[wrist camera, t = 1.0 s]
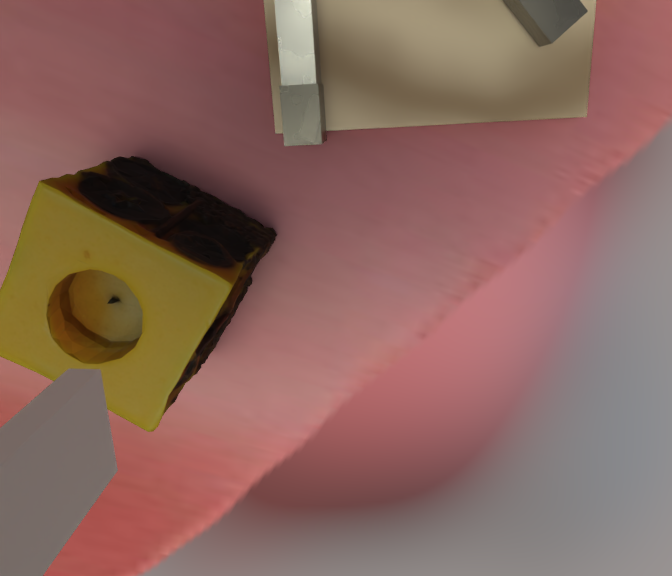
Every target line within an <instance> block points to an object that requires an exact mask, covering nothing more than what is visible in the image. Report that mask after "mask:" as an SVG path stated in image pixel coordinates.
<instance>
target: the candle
mask: <svg viewBox="0 0 672 576" xmlns="http://www.w3.org/2000/svg"><path fill="white" fill-rule="evenodd" d="M276 236H277V234H276V232H275V231H274V229H273V228H264V226H263V225H262V224H260V223H259V222H258V221H257V220H255V219H252V218H249V217H247V216H246V215H245V214H244V213H243V212H242V211H240V210H239V209H236V208H233V207H231V206H229V205H227V204H226V203H224V202H222V201H221V200H219V199H218V198H216V197H214V196H212V195H210V194H207V193H205V192H201V191H200V190H199V188H197V187H196V186H191V185H190V184H188V183H187V182H185V181H184V180H183V181H181V180H179V179H177V178H175V177H173V176H171V175H169V174H167V173H164V172H162V171H160V170H158V169H156V168H155V167H154V166H153V165H152V164H151V163H149V162H148V161H147V160H146V159H140V158H137V157H133V156H131V157H130V158H124V157H117V158H114V159H113V160H111V161H105V162H103V163H101V164H100V165H98V166H95V167H92V168H89V169H85V170H80V171H78V172H77V173H76V174H75V175H71V174H66V175H64V176H61V177H59V178H49V179H45V180H42V181H39V183H38V186H37V188H36V191H35V193H34V195H33V198H32V201H31V203H30V206H29V209H28V212H27V215H26V218H25V221H24V223H23V226H22V230H21V233H20V237H19V240H18V243H17V247H16V249H15V252H14V255H13V258H12V261H11V264H10V267H9V270H8V272H7V275H6V277H5V280H4V282H3V285H2V287H1V289H0V356H1V357H3V358H5V359H7V360H10V361H12V362H14V363H16V364H19V365H21V366H23V367H26V368H28V369H30V370H33V371H35V372H37V373H39V374H41V375H43V376H45V377H47V378H49V379H51V380H53V381H55V380H56V379H57V378H58V377H60V376H61V375H62V374H63V373H64V372H65V371H66V370H68V369H100V370H101V375H102V381H103V387H104V393H105V399H106V405H107V409H108V410H110V411H112V412H114V413H115V414H117V415H119V416H121V417H122V418H124V419H126V420H128V421H130V422H131V423H133V424H135V425H137V426H139V427H141V428H142V429H144V430H146V431H148V432H151V431H154V430H155V429H156V428H157V427H158V425H159V423H160V420H161V418H162V416H163V415H164V413H165V412H166V410H167V409H168V408H169V407H170V406H171V405H172V404H173V403H174V402H175V400H176V399H177V396H178V394H179V393H180V391H181V390H182V388H183V387H184V385H185V383H186V382H188V381H189V380H190V379H191V378H192V376H193V375H195V374H197V372H198V371H199V370H200V368H201V365H202V364H203V363H205V360H206V359H207V358H208V356H209V355H210V353H211V352H212V351H213V349H214V348H215V346H216V344H217V342H218V341H219V338H220V336H221V335H222V333H223V332H224V330H225V328H226V326H227V325H228V324H229V323H230V320H231V318H232V317H233V316H234V314H235V312H236V310H237V308H238V305H239V303H240V302H241V301H242V300H243V298H244V296H245V294H246V292H247V291H248V290H247V286H250V285H251V284H252V280H251V274H252V272H253V270H254V268H255V266H256V265H257V263H258V262H259V261H260V259H261V258H262V257H264V256H265V254H266V253H267V252H268V251H269V248H270V247H271V245H272V244H273V243H274V240H275V237H276Z"/></svg>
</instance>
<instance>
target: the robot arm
mask: <svg viewBox="0 0 672 576" xmlns="http://www.w3.org/2000/svg"><path fill="white" fill-rule="evenodd" d="M117 471H118V469H117V464H116V458H115V452H114V446H113V440H112V434H111V428H110V422H109V417H108V411H107V405H106V399H105V393H104V387H103V381H102V375H101V370H100V369H68V370H66V371H65V372H64V373H63V374H62V375H61V376H60V377H58V378H57V379H56V380H55V381H54V382H53V383H51V384H50V385H49V386H48V387H47V388H46V389H45V390H43V391H42V392H41V393H40V394H39V395H38V396H37V397H35V398H34V399H33V400H32V401H31V402H30V403H29V404H27V405H26V406H25V407H24V408H23V409H22V410H21V411H19V412H18V413H17V414H16V415H15V416H14V417H12V418H11V419H10V420H9V421H8V422H7V423H6V424H4V425H3V426H2V427H1V428H0V576H43V574H44V573H45V572H46V570H47V569H48V567H49V566H50V565H51V563H52V562H53V560H54V559H55V558H56V556H57V555H58V553H59V552H60V551H61V549H62V548H63V546H64V545H65V544H66V542H67V541H68V539H69V538H70V537H71V535H72V534H73V532H74V531H75V530H76V528H77V527H78V525H79V524H80V523H81V521H82V520H83V518H84V517H85V515H86V514H87V513H88V511H89V510H90V508H91V507H92V506H93V504H94V503H95V501H96V500H97V499H98V497H99V496H100V494H101V493H102V492H103V490H104V489H105V487H106V486H107V485H108V483H109V482H110V480H111V479H112V478H113V476H114V475H115V473H116V472H117Z"/></svg>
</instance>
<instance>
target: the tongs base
mask: <svg viewBox="0 0 672 576" xmlns="http://www.w3.org/2000/svg"><path fill="white" fill-rule="evenodd" d="M274 2H275V14H276V26H277V38H278V50H279V62H280V74H281V86H279V89H280V101H281V113H282V124H283V136H284V146H296V145H316V144H323V143H324V142H325V141H326V140H327V135H326V119H325V102H324V86H323V84H322V83H321V67H320V51H319V35H318V19H317V3H316V0H274Z"/></svg>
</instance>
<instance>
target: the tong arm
mask: <svg viewBox="0 0 672 576" xmlns="http://www.w3.org/2000/svg"><path fill="white" fill-rule="evenodd" d="M503 2H504V3H505V4H506V5H507V7H508V8H509V9H510V11H511V12H512V13H513V14H514V16H515V17H516V18H517V19H518V21H519V22H520V23H521V24H522V26H523V27H524V28H525V30H526V31H527V32H528V33H529V35H530V36H531V37H532V38H533V40H534V41H535V42H536V44H537V45H538V46H539V47H541V46H545V45H548V44H552V43H553V42H554V41H556V40H557V39H558V38H559V37H560V36H561V35H562V34H563V33H564V32H566V31H567V30H568V29H569V28H570V27H571V26H572V25H573V24H574V23H576V22H577V21H578V20H579V19H580V18H581V17H582V16H583V15H584V14H586V13H587V12H588V10H587V9H586V8H585V6H584V5H583V4H582V2H581V1H580V0H503Z"/></svg>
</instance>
